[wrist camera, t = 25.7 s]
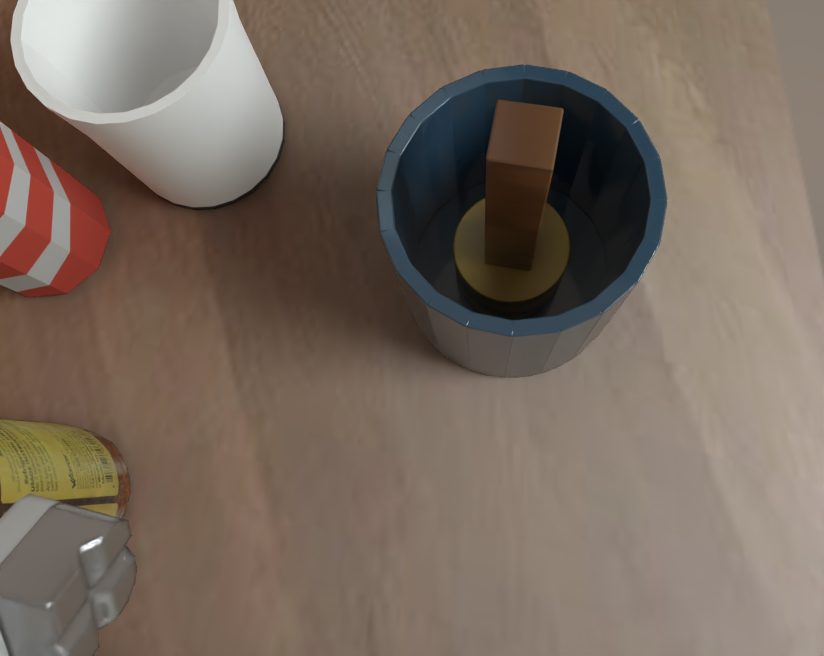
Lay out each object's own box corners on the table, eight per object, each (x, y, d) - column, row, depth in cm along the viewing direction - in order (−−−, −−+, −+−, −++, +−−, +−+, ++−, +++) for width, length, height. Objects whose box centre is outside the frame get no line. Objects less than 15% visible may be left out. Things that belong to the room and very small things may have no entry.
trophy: (569, 227, 36) (622, 68, 23) (552, 329, 35) (597, 226, 22) (465, 211, 37) (456, 47, 23) (446, 310, 36) (425, 199, 22)
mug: (303, 203, 39) (240, 101, 28) (133, 232, 39) (13, 142, 29) (280, 14, 41) (214, -141, 31) (120, 44, 41) (5, -98, 31)
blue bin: (633, 195, 37) (687, 89, 27) (595, 398, 35) (639, 363, 25) (429, 158, 38) (412, 45, 29) (382, 353, 37) (346, 302, 27)
